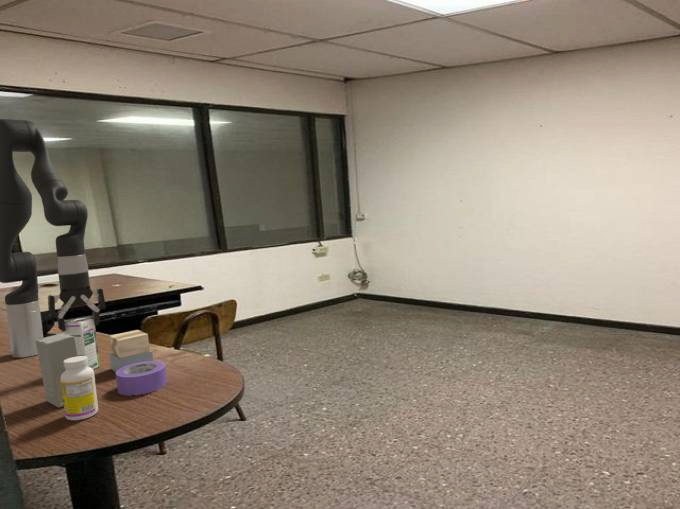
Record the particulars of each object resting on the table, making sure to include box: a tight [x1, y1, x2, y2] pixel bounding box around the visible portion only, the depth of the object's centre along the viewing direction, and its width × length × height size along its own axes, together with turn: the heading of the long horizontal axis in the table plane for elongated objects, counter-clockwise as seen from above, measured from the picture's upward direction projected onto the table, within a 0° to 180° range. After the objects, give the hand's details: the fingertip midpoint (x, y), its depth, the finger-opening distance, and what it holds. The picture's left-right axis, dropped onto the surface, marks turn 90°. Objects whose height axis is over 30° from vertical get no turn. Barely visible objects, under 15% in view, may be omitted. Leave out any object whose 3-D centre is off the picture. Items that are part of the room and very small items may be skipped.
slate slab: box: [109, 350, 154, 373], centre depth 146 cm, size 9×9×5 cm
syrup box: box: [64, 317, 101, 370], centre depth 147 cm, size 6×6×14 cm
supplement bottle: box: [60, 356, 99, 421], centre depth 113 cm, size 7×7×13 cm
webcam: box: [40, 311, 58, 338], centre depth 186 cm, size 8×8×10 cm
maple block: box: [109, 329, 151, 358], centre depth 145 cm, size 8×8×5 cm
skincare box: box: [36, 332, 78, 408], centre depth 123 cm, size 8×7×16 cm
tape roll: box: [115, 360, 168, 397], centre depth 130 cm, size 12×12×5 cm
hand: (80, 328), depth 146 cm, fingers open, 8 cm apart
